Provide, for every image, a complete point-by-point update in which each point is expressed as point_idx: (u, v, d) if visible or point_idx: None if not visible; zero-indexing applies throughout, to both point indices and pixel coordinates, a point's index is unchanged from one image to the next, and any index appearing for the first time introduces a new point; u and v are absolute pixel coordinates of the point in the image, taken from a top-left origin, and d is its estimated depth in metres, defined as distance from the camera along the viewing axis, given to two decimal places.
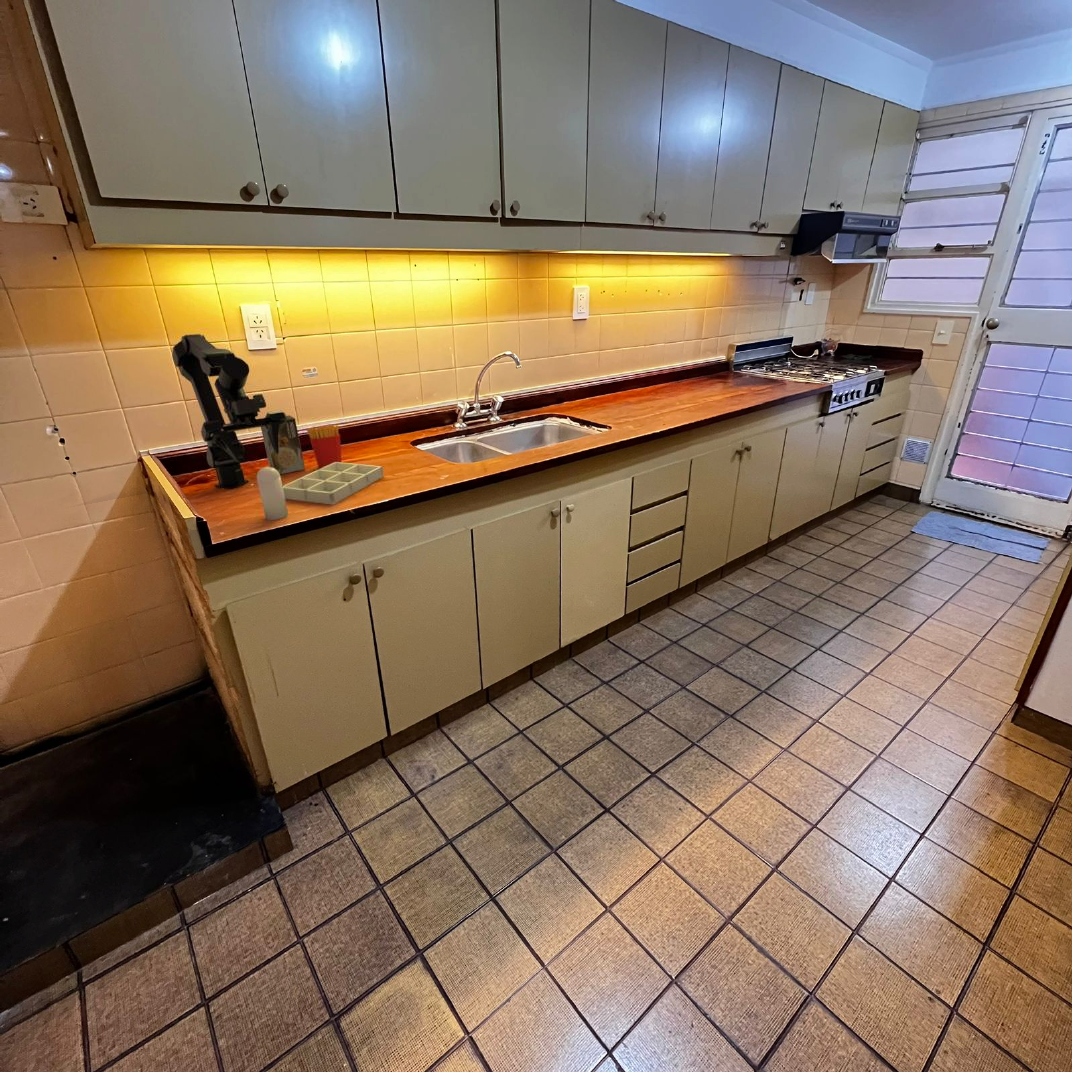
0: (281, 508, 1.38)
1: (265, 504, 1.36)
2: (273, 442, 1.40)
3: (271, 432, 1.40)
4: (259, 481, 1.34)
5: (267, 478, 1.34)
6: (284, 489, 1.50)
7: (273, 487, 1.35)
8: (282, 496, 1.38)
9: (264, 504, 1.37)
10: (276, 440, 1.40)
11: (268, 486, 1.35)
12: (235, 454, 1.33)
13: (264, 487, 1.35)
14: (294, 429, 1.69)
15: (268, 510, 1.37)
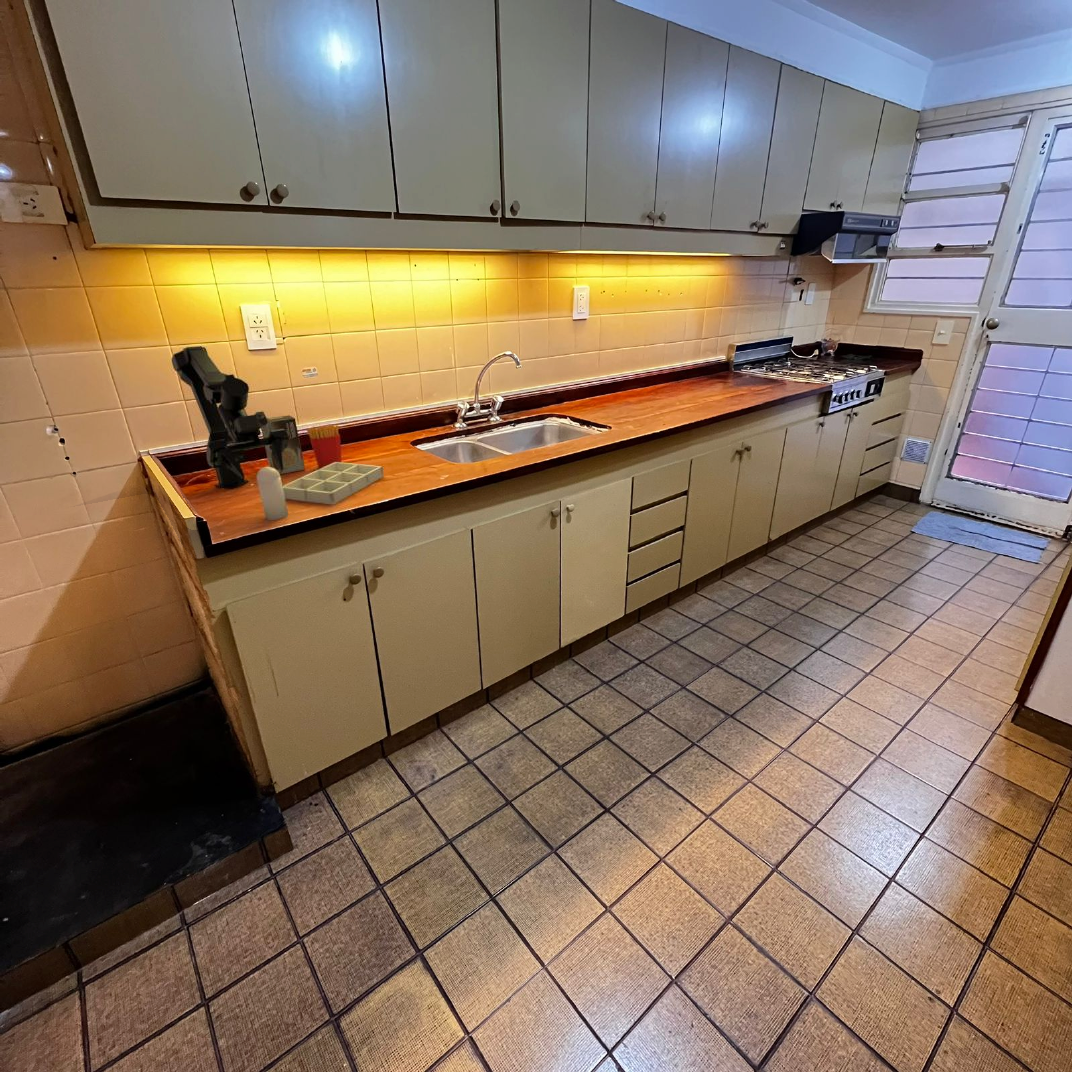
0: (281, 508, 1.38)
1: (265, 504, 1.36)
2: (277, 459, 1.41)
3: (275, 449, 1.42)
4: (259, 481, 1.34)
5: (267, 478, 1.34)
6: (284, 489, 1.50)
7: (273, 487, 1.35)
8: (282, 496, 1.38)
9: (264, 504, 1.37)
10: (280, 456, 1.41)
11: (268, 486, 1.35)
12: (240, 471, 1.35)
13: (264, 487, 1.35)
14: (294, 429, 1.69)
15: (268, 510, 1.37)
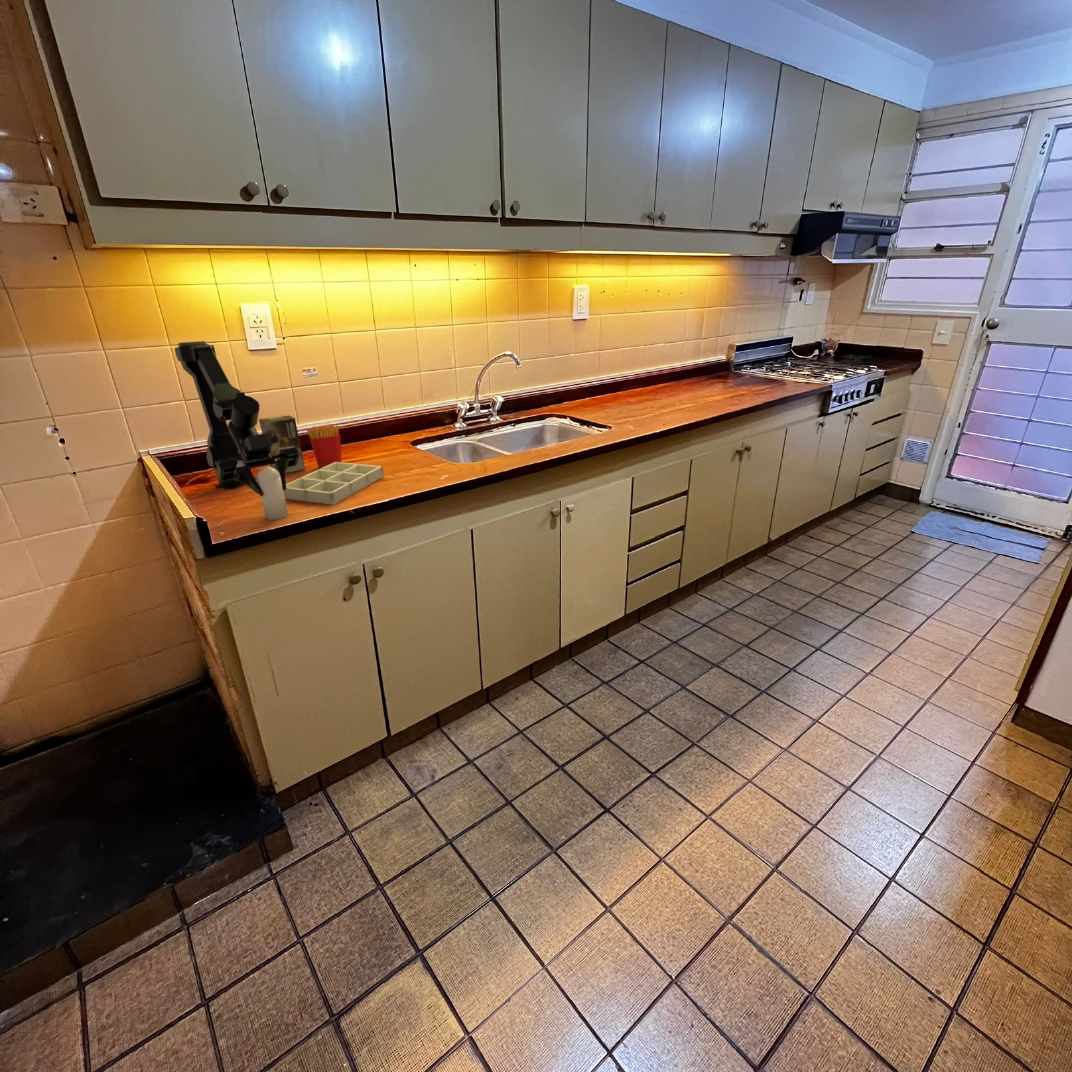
0: (281, 508, 1.38)
1: (265, 504, 1.36)
2: None
3: (277, 469, 1.39)
4: (259, 481, 1.34)
5: (267, 478, 1.34)
6: None
7: (273, 487, 1.35)
8: (282, 496, 1.38)
9: (264, 504, 1.37)
10: (283, 476, 1.39)
11: (268, 486, 1.35)
12: (258, 488, 1.34)
13: (264, 487, 1.35)
14: (294, 429, 1.69)
15: (268, 510, 1.37)
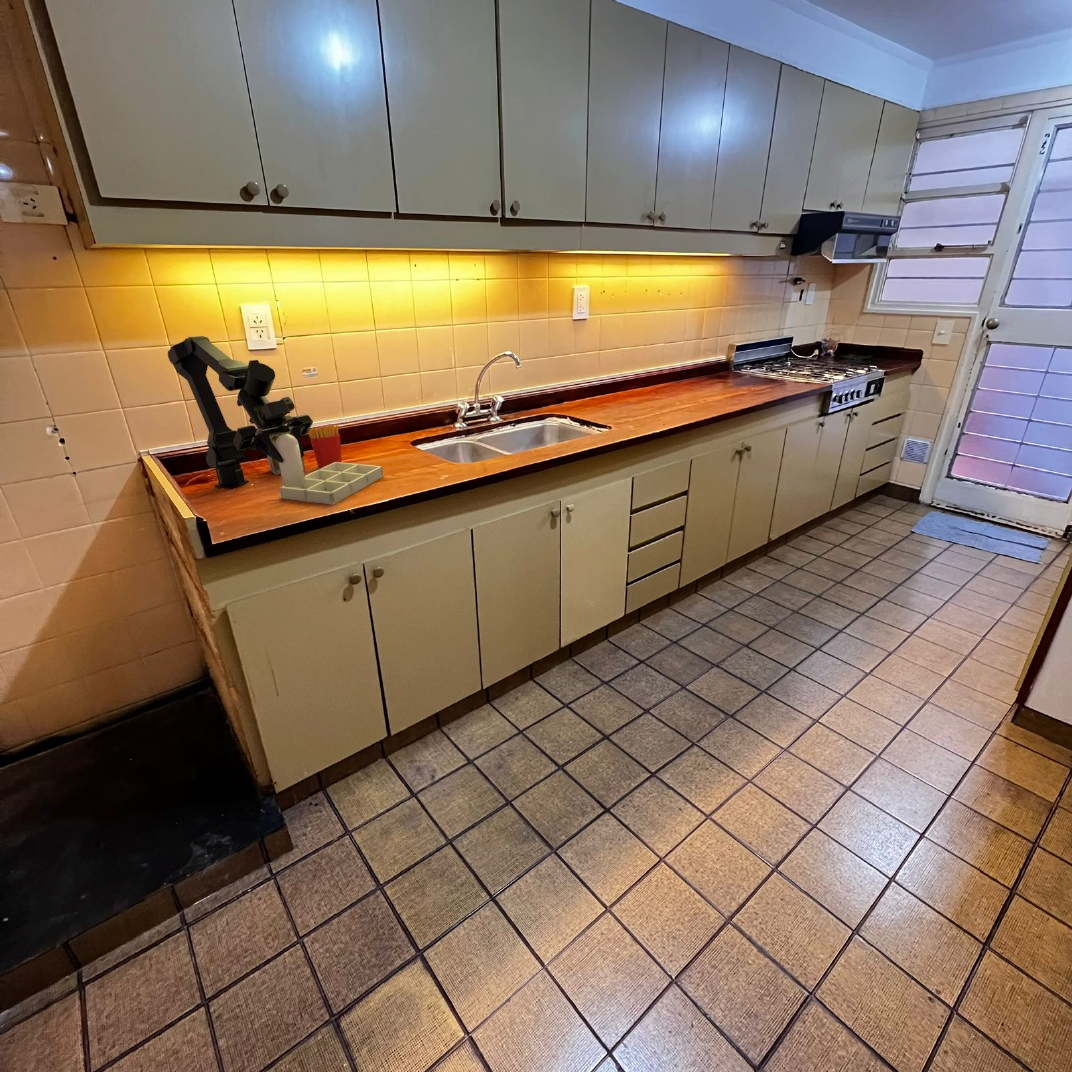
0: (300, 474, 1.39)
1: (284, 471, 1.37)
2: None
3: None
4: (279, 448, 1.35)
5: (288, 444, 1.35)
6: (284, 489, 1.50)
7: (293, 453, 1.37)
8: (301, 463, 1.39)
9: (284, 471, 1.38)
10: (300, 443, 1.40)
11: (289, 452, 1.36)
12: (279, 455, 1.35)
13: (284, 454, 1.36)
14: None
15: (288, 477, 1.38)
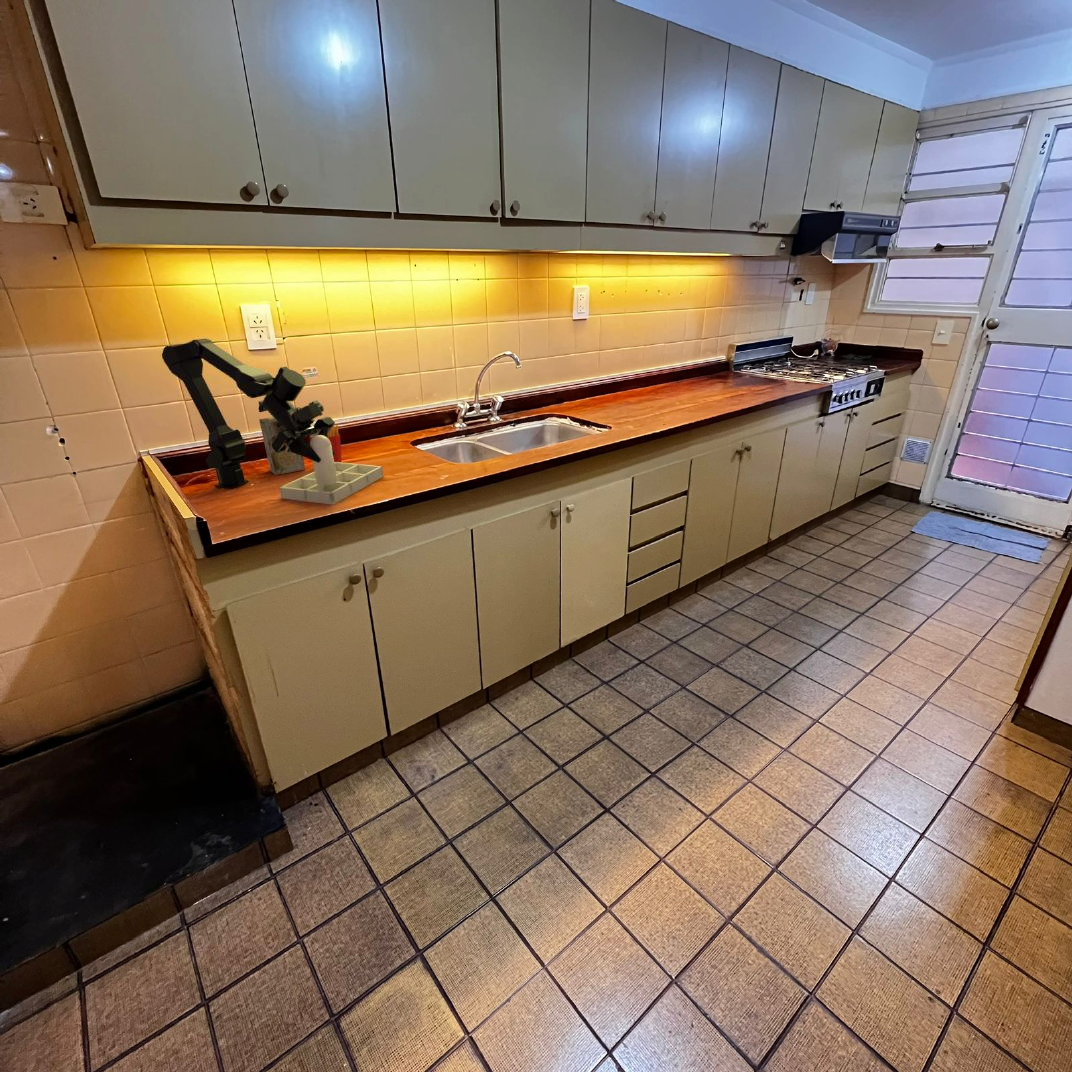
0: (334, 472, 1.49)
1: (321, 470, 1.46)
2: None
3: None
4: (316, 448, 1.44)
5: (324, 444, 1.44)
6: (284, 489, 1.50)
7: (329, 453, 1.46)
8: (333, 461, 1.49)
9: (320, 470, 1.46)
10: None
11: (325, 452, 1.45)
12: (316, 455, 1.44)
13: (322, 453, 1.45)
14: None
15: (324, 475, 1.47)
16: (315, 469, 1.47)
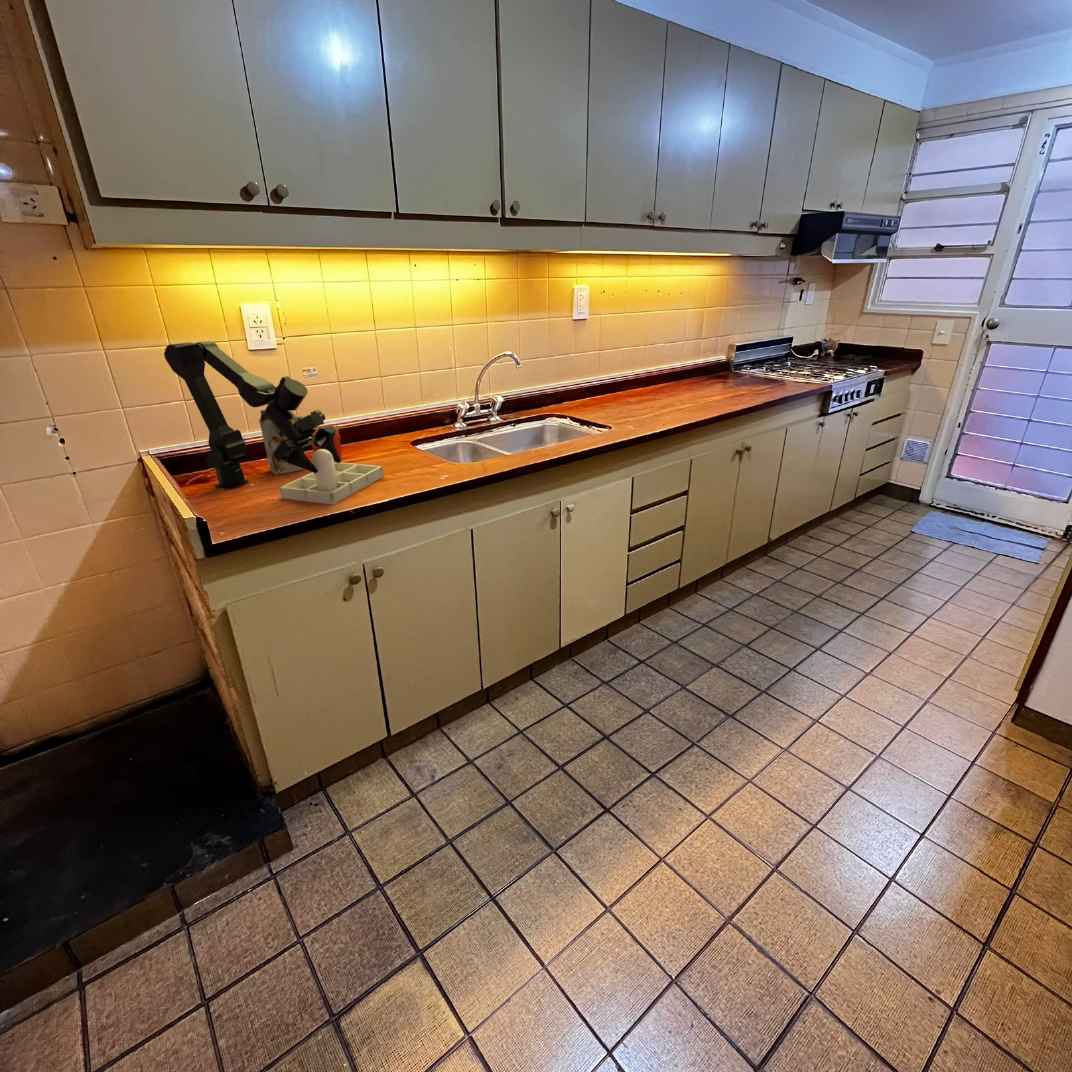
0: (336, 485, 1.50)
1: (323, 483, 1.48)
2: (332, 453, 1.52)
3: (328, 445, 1.52)
4: (318, 462, 1.45)
5: (326, 458, 1.46)
6: (284, 489, 1.50)
7: (331, 466, 1.47)
8: None
9: (322, 484, 1.48)
10: (335, 450, 1.52)
11: (327, 466, 1.47)
12: (313, 466, 1.43)
13: (324, 467, 1.46)
14: None
15: (326, 488, 1.48)
16: (317, 483, 1.48)
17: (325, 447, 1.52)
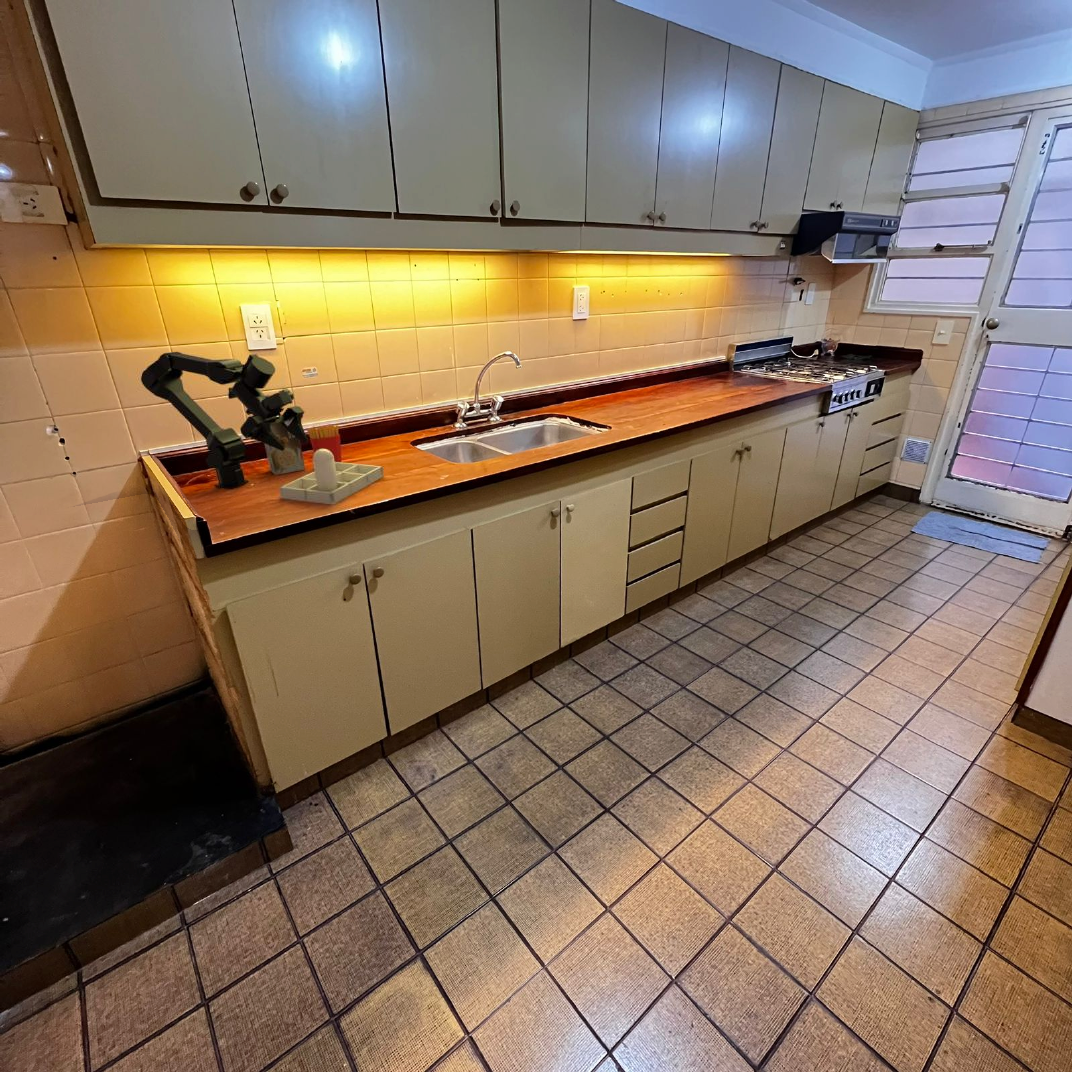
0: (336, 485, 1.50)
1: (323, 483, 1.48)
2: (300, 433, 1.53)
3: (295, 425, 1.53)
4: (319, 462, 1.45)
5: (327, 458, 1.46)
6: (284, 489, 1.50)
7: (332, 466, 1.47)
8: (336, 475, 1.50)
9: (322, 483, 1.48)
10: (303, 430, 1.53)
11: (328, 466, 1.47)
12: (280, 443, 1.45)
13: (324, 467, 1.46)
14: None
15: (326, 488, 1.48)
16: (318, 482, 1.48)
17: (292, 427, 1.53)
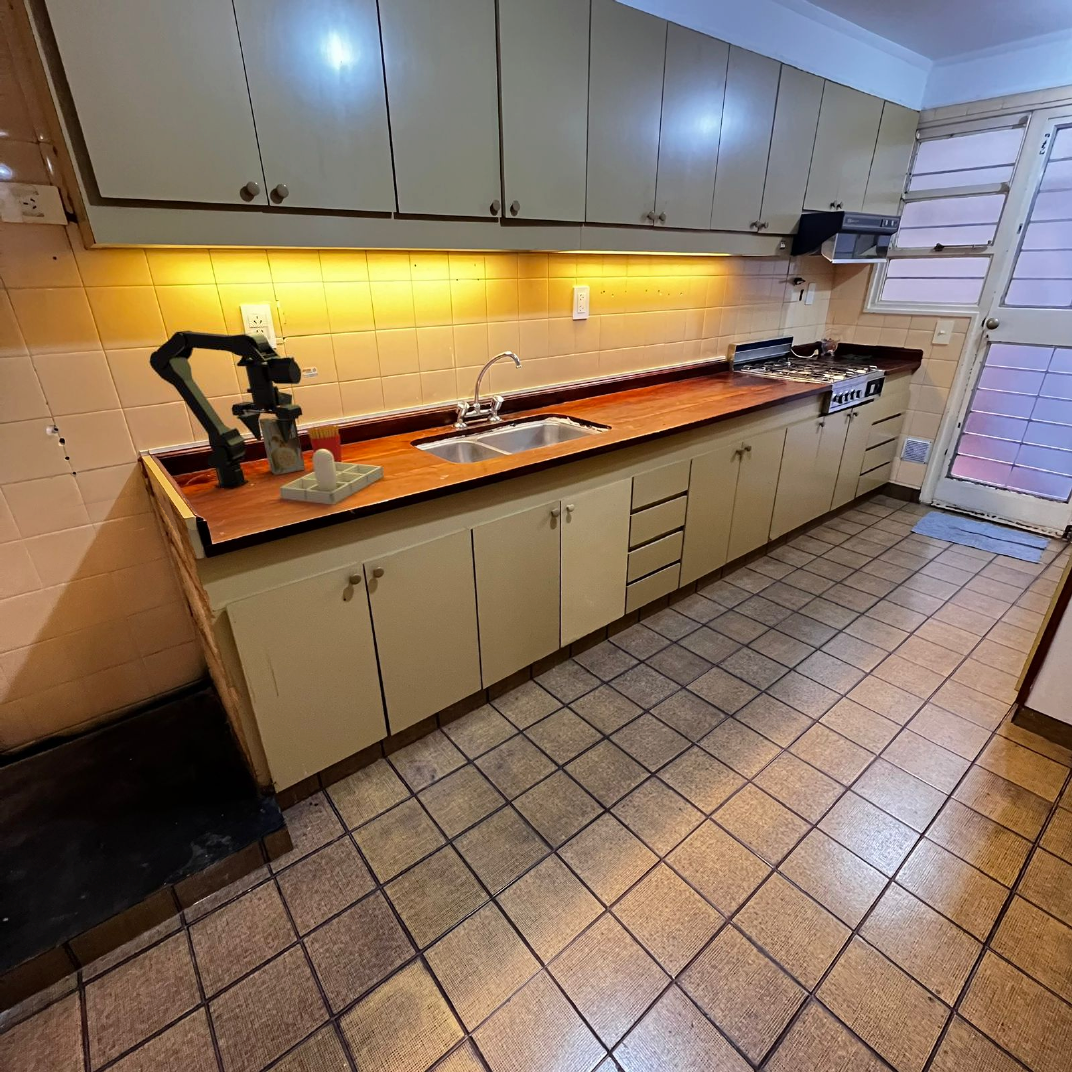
0: (336, 486, 1.50)
1: (323, 483, 1.48)
2: (258, 429, 1.56)
3: (256, 420, 1.55)
4: (319, 462, 1.45)
5: (327, 458, 1.46)
6: (284, 489, 1.50)
7: (331, 467, 1.47)
8: None
9: (322, 484, 1.48)
10: None
11: (328, 466, 1.46)
12: None
13: (324, 467, 1.46)
14: (294, 429, 1.69)
15: (326, 489, 1.48)
16: (317, 482, 1.48)
17: (252, 420, 1.54)
